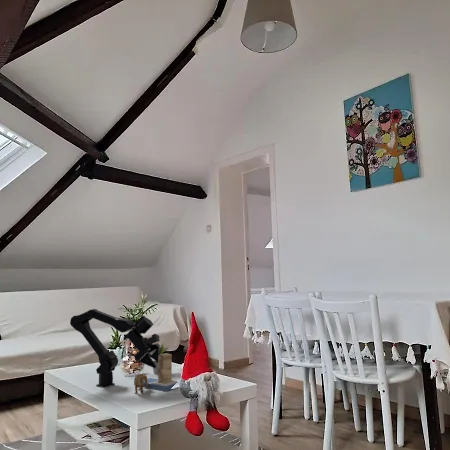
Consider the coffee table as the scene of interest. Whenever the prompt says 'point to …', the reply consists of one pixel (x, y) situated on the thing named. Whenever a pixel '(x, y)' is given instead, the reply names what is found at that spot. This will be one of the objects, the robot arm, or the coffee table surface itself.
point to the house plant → (156, 361)
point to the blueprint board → (157, 387)
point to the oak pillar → (164, 368)
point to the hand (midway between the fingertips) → (159, 365)
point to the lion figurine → (140, 382)
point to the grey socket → (164, 384)
